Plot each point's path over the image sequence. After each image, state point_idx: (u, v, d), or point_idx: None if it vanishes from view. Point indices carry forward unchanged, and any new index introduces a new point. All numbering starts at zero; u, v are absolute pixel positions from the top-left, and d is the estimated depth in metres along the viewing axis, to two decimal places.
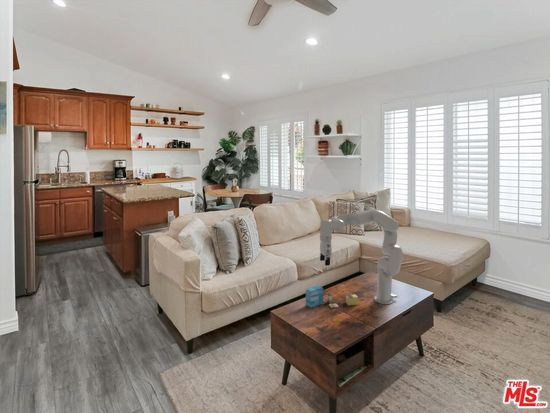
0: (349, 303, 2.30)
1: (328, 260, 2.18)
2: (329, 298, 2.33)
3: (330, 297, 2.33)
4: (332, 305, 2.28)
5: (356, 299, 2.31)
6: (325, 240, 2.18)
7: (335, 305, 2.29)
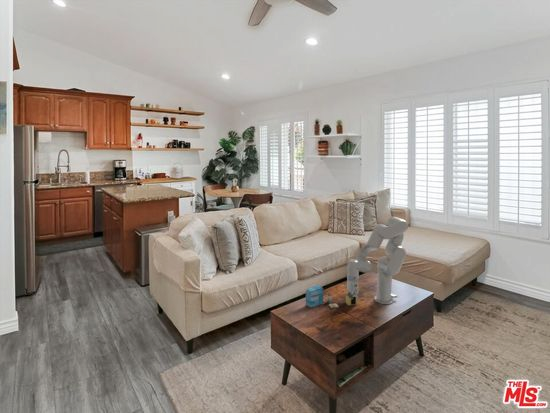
0: (349, 303, 2.30)
1: (354, 299, 2.29)
2: (329, 298, 2.33)
3: (330, 297, 2.33)
4: (332, 305, 2.28)
5: (356, 299, 2.31)
6: (353, 280, 2.26)
7: (335, 305, 2.29)
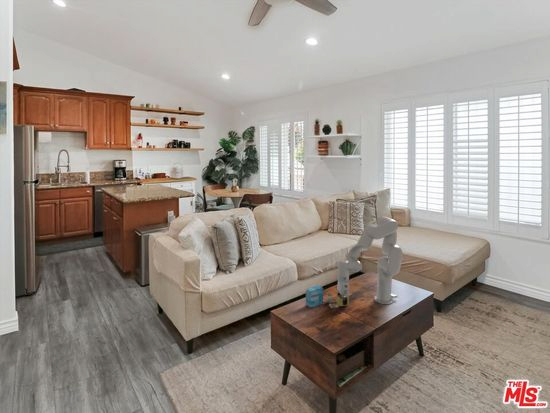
0: (340, 304, 2.29)
1: (346, 300, 2.25)
2: (329, 298, 2.33)
3: (330, 297, 2.33)
4: (332, 305, 2.28)
5: None
6: (343, 281, 2.25)
7: (335, 305, 2.29)
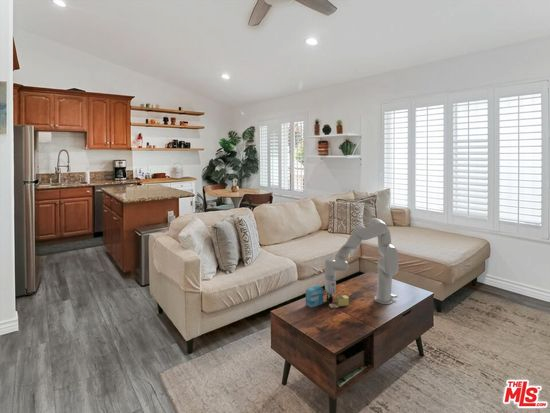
0: (340, 304, 2.29)
1: (331, 298, 2.32)
2: None
3: None
4: (332, 305, 2.28)
5: (347, 300, 2.29)
6: (330, 279, 2.28)
7: (335, 305, 2.29)
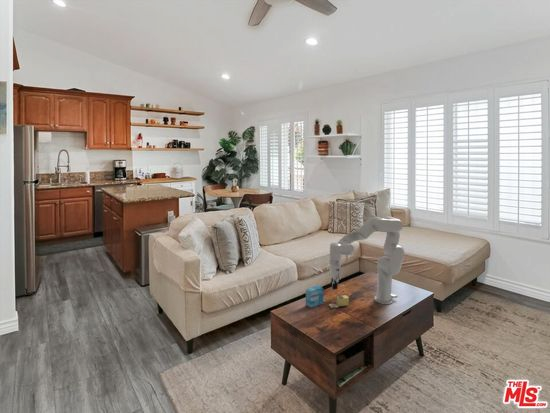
0: (340, 304, 2.29)
1: (335, 284, 2.23)
2: None
3: None
4: (332, 305, 2.28)
5: (347, 300, 2.29)
6: (335, 264, 2.20)
7: (335, 305, 2.29)
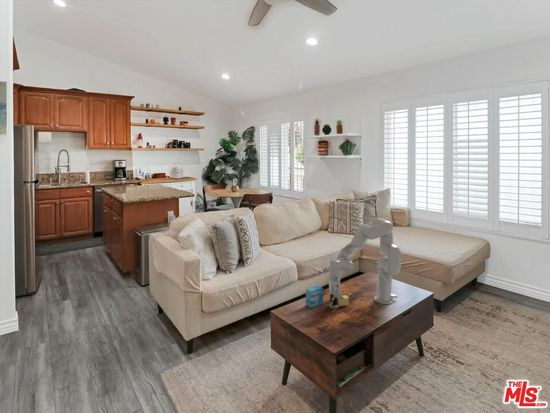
0: (340, 304, 2.29)
1: (336, 300, 2.24)
2: None
3: None
4: None
5: (347, 300, 2.29)
6: (334, 280, 2.21)
7: (335, 305, 2.29)
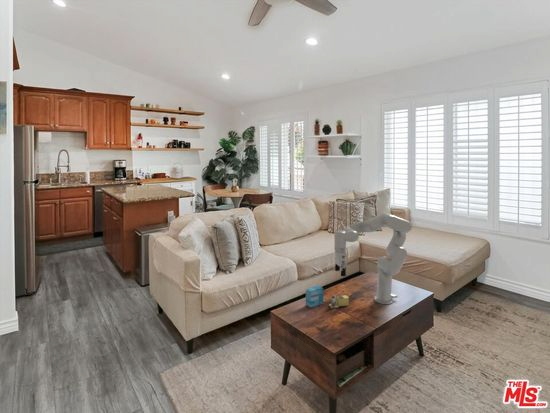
0: (340, 304, 2.29)
1: (344, 271, 2.21)
2: (333, 301, 2.27)
3: (334, 300, 2.27)
4: None
5: (347, 300, 2.29)
6: (340, 251, 2.21)
7: (335, 305, 2.29)
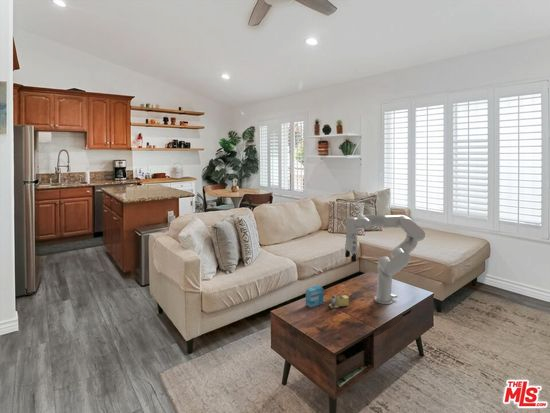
0: (340, 304, 2.29)
1: (354, 256, 2.27)
2: (333, 301, 2.27)
3: (334, 300, 2.27)
4: None
5: (347, 300, 2.29)
6: (351, 237, 2.26)
7: (335, 305, 2.29)
